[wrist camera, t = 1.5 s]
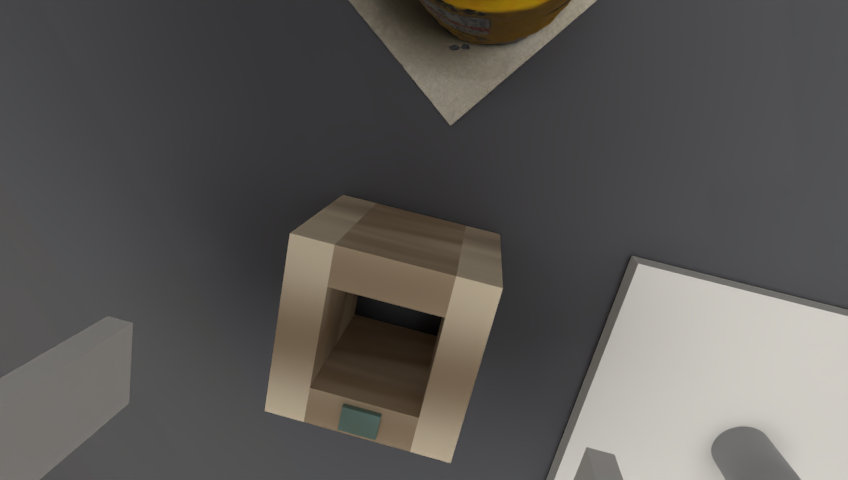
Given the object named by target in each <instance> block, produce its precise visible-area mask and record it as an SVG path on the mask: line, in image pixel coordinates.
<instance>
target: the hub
mask: <svg viewBox="0 0 848 480" xmlns="http://www.w3.org/2000/svg"><path fill="white" fill-rule="evenodd" d="M586 447H589V448H592V449H596V450H600V451H603V452H607V453H611V454H614V455H615V457H616V460H617V463H618V466H619V469H620V472H621V474H622V477H623V480H848V310H847V309H843V308H839V307H835V306H831V305H827V304H823V303H819V302H815V301H811V300H807V299H803V298H799V297H795V296H791V295H787V294H783V293H779V292H775V291H771V290H767V289H763V288H759V287H755V286H751V285H747V284H743V283H739V282H735V281H731V280H727V279H723V278H719V277H715V276H711V275H707V274H703V273H699V272H695V271H691V270H687V269H684V268H680V267H676V266H672V265H668V264H664V263H660V262H656V261H652V260H648V259H644V258H640V257H636V256H631V259H630V261H629V264H628V266H627V269H626V272H625V274H624V277H623V279H622V282H621V285H620V287H619V290H618V293H617V295H616V298H615V300H614V303H613V306H612V308H611V311H610V313H609V316H608V319H607V321H606V324H605V327H604V329H603V332H602V334H601V337H600V340H599V342H598V345H597V347H596V350H595V353H594V355H593V358H592V361H591V363H590V366H589V368H588V371H587V374H586V376H585V379H584V381H583V384H582V387H581V389H580V392H579V395H578V397H577V400H576V402H575V405H574V408H573V410H572V413H571V415H570V418H569V421H568V423H567V426H566V429H565V431H564V434H563V436H562V439H561V442H560V444H559V447H558V449H557V452H556V455H555V457H554V460H553V463H552V465H551V468H550V470H549V473H548V476H547V478H546V480H574V477H575V475H576V472H577V470H578V467H579V465H580V462H581V460H582V457H583V455H584V452H585V450H586Z"/></svg>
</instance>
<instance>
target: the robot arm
mask: <svg viewBox="0 0 848 480" xmlns="http://www.w3.org/2000/svg"><path fill="white" fill-rule="evenodd" d="M132 331H133V323H131V322H128V321H124V320H120V319H117V318H113V317H109V316H107V317H105V318H104V319H102V320H100V321H99V322H97V323H95V324H93V325H92V326H90V327H88V328H86V329H85V330H83V331H81V332H80V333H78V334H76V335H74V336H73V337H71V338H69V339H67V340H66V341H64V342H62V343H60V344H59V345H57V346H55V347H54V348H52V349H50V350H48V351H47V352H45V353H43V354H41V355H40V356H38V357H36V358H35V359H33V360H31V361H29V362H28V363H26V364H24V365H22V366H21V367H19V368H17V369H15V370H14V371H12V372H10V373H9V374H7V375H5V376H3V377H2V378H0V480H40V479H41V478H42V477H43V476H44V475H45V474H47V473H48V472H49V471H50V470H51V469H52V468H54V467H55V466H56V465H57V464H58V463H59V462H61V461H62V460H63V459H64V458H65V457H66V456H68V455H69V454H70V453H71V452H72V451H74V450H75V449H76V448H77V447H78V446H79V445H81V444H82V443H83V442H84V441H85V440H86V439H88V438H89V437H90V436H91V435H92V434H93V433H95V432H96V431H97V430H98V429H99V428H100V427H102V426H103V425H104V424H105V423H106V422H108V421H109V420H110V419H111V418H112V417H113V416H115V415H116V414H117V413H118V412H119V411H120V410H122V409H123V408H124V407H125V406H126V405H127V404H129V393H130V373H131V352H132ZM574 480H623V477H622V474H621V472H620V469H619V466H618V463H617V460H616V457H615V455H614V454H611V453H607V452H603V451H600V450H596V449H592V448H589V447H586V450H585V452H584V455H583V457H582V460H581V462H580V465H579V467H578V470H577V472H576V475H575V477H574Z"/></svg>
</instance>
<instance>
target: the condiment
mask: <svg viewBox="0 0 848 480" xmlns="http://www.w3.org/2000/svg"><path fill="white" fill-rule="evenodd" d="M349 1H350V3H351V4H352V5H353V6H354V8H355V9H356V10H357V11H358V12H359V14H360V15H361V16H362V17H363V19H364V20H365V21H366V22H367V23H368V24H369V26H370V27H371V28H372V30H373V31H374V32H375V33H376V34H377V36H378V37H379V38H380V39H381V40H382V42H383V43H384V44H385V45H386V47H387V48H388V49H389V50H390V52H391V53H392V54H393V55H394V57H395V58H396V59H397V60H398V61H399V63H400V64H402V65H403V67H404V69H405V70H406V71H407V73H408V74H409V75H410V76H411V78H412V79H413V80H414V81H415V82H416V84H417V85H418V86H419V87H420V89H421V90H422V91H423V92H424V93H425V95H426V96H427V97H428V98H429V100H430V101H431V102H432V103H433V105H434V106H435V107H436V108H437V110H438V111H439V112H440V113H441V115H442V116H443V117H444V118H445V119H446V121H447V122H448V123H449V124H450V125H452V124H453V123H454V122H455V121H457V120H458V119H459V118H460V117H461V116H462V115H464V114H465V113H466V112H467V111H468V110H469V109H471V108H472V107H473V106H474V105H475V104H476V103H478V102H479V101H480V100H481V99H482V98H484V97H485V96H486V95H487V94H488V93H489V92H491V91H492V90H493V89H494V88H495V87H496V86H497V85H498V84H500V83H501V82H502V81H503V80H505V79H506V78H507V77H508V76H509V75H510V74H512V73H513V72H514V71H515V70H516V69H517V68H519V67H520V66H521V65H522V64H523V63H524V62H526V61H527V60H528V59H529V58H530V57H531V56H533V55H534V54H535V53H536V52H537V51H538V50H540V49H541V48H542V47H543V46H544V45H545V44H547V43H548V42H549V41H550V40H551V39H552V38H554V37H555V36H556V35H557V34H558V33H559V32H561V31H562V30H563V29H564V28H565V27H566V26H568V25H569V24H570V23H571V22H572V21H573V20H575V19H576V18H577V17H578V16H579V15H580V14H582V13H583V12H584V11H585V10H586V9H587V8H589V7H590V6H591V5H592V4H593V3H594V2H596V1H597V0H349ZM463 44H467V45H469V47H470V48H469V49H468V50H467V49H462V47H461V46H462V45H463ZM452 45H458V46H459V47H460V48H459V50H451V49H450V48H449V47H450V46H452Z"/></svg>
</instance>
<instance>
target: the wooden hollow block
mask: <svg viewBox="0 0 848 480" xmlns="http://www.w3.org/2000/svg"><path fill="white" fill-rule="evenodd" d="M502 290H503V281H502V262H501V243H500V234H497V233H493V232H489V231H485V230H481V229H477V228H473V227H469V226H466V225H462V224H458V223H454V222H450V221H446V220H442V219H438V218H434V217H430V216H426V215H422V214H418V213H414V212H410V211H406V210H402V209H398V208H394V207H390V206H386V205H382V204H378V203H374V202H370V201H366V200H362V199H358V198H354V197H350V196H346V195H342V196H341V197H339V198H338V199H337V200H335V201H334V202H332V203H331V204H330V205H328V206H327V207H325V208H324V209H323V210H321V211H320V212H319V213H317V214H316V215H314V216H313V217H312V218H310V219H309V220H307V221H306V222H305V223H303V224H302V225H300V226H299V227H298V228H296V229H295V230H294V231H292V232H291V233H290V235H289V242H288V249H287V257H286V264H285V271H284V278H283V285H282V292H281V299H280V306H279V313H278V320H277V327H276V334H275V341H274V349H273V356H272V363H271V370H270V377H269V384H268V391H267V398H266V405H265V411H266V412H270V413H274V414H277V415H281V416H284V417H288V418H291V419H295V420H299V421H302V422H306V423H309V424H313V425H316V426H320V427H323V428H327V429H331V430H334V431H338V432H341V433H345V434H348V435H352V436H356V437H359V438H363V439H366V440H370V441H373V442H377V443H380V444H384V445H388V446H391V447H395V448H398V449H402V450H405V451H409V452H413V453H416V454H420V455H423V456H427V457H430V458H434V459H437V460H441V461H445V462H448V463H451V460H452V457H453V453H454V450H455V447H456V443H457V440H458V437H459V433H460V430H461V427H462V423H463V420H464V417H465V413H466V410H467V407H468V403H469V400H470V397H471V393H472V390H473V387H474V383H475V380H476V377H477V373H478V370H479V366H480V363H481V360H482V356H483V353H484V350H485V346H486V343H487V340H488V336H489V333H490V330H491V326H492V323H493V320H494V316H495V313H496V310H497V306H498V303H499V300H500V296H501V293H502ZM358 295H360V296H364V297H368V298H372V299H375V300H379V301H383V302H387V303H391V304H394V305H398V306H402V307H406V308H410V309H413V310H417V311H421V312H425V313H429V314H432V315H436V316H440V317H442V319H441V323H440V327H439V331H438V334H437V336H435V335H431V334H427V333H424V332H420V331H416V330H412V329H409V328H405V327H401V326H397V325H394V324H390V323H386V322H382V321H379V320H375V319H371V318H367V317H363V316H360V315H356V314H355V309H356V304H357V299H358Z"/></svg>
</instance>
